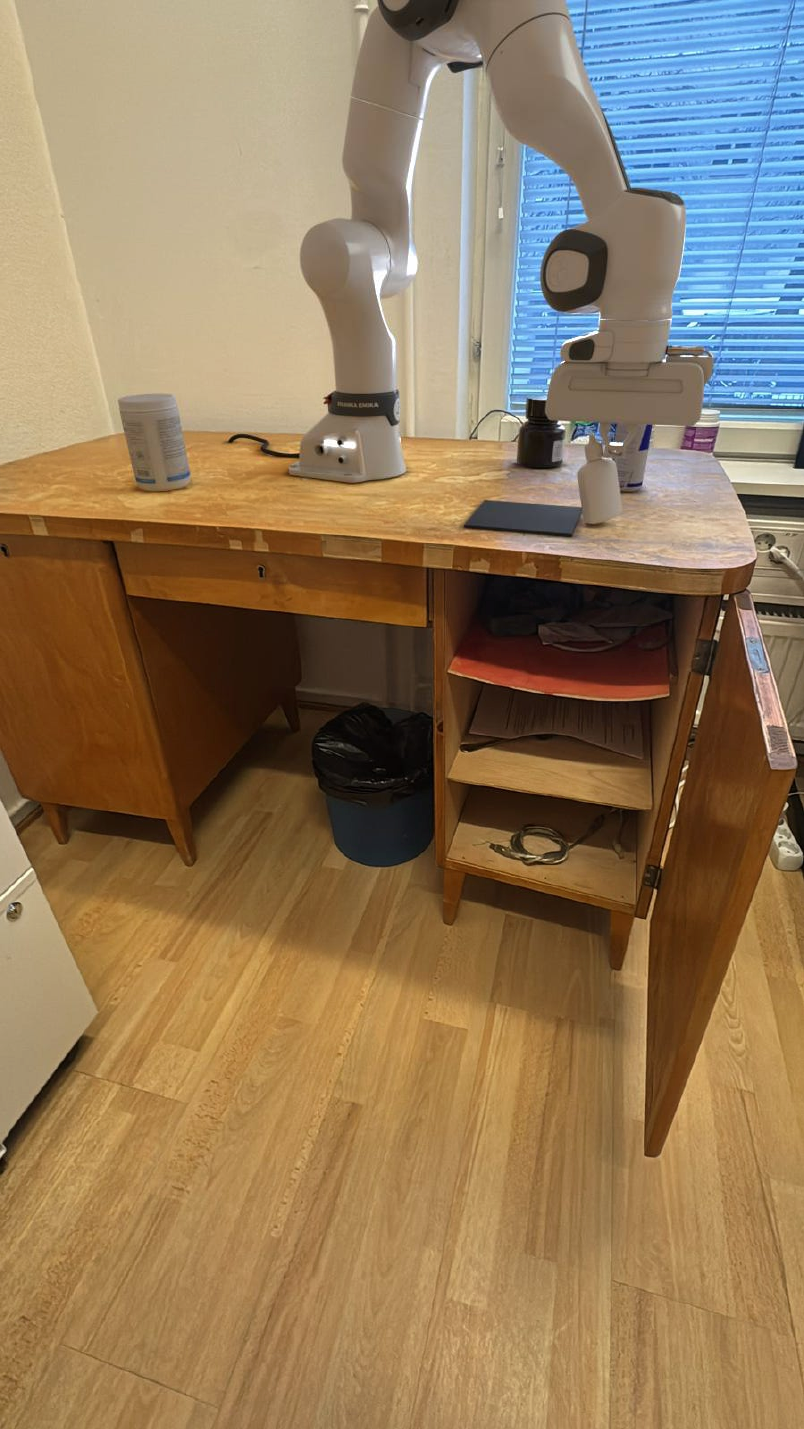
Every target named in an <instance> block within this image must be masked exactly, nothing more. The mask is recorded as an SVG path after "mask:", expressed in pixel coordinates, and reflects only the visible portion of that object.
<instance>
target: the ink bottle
mask: <svg viewBox="0 0 804 1429" xmlns="http://www.w3.org/2000/svg"><path fill="white" fill-rule="evenodd" d="M546 399H547V394H533V395H528V396H527V397H526V401H525V402H526V403H525V419H526V421H525V422H524V423H523V424H521V426H520V427H519V428H518V438H517V448H516V450H517V453H516V464H518V465H520V466H522V467H526V468H532V469H533V468H535V469H547V468H549V469H551V468H556V467H560V466H561V465H562V464H563V458H564V450H565V443H566V442H565V441H566V427H565V426H564V425H562V421H555V420H549V419H548V417H547V415H546V414H545V406H546Z"/></svg>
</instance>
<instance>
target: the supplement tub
mask: <svg viewBox="0 0 804 1429" xmlns="http://www.w3.org/2000/svg"><path fill="white" fill-rule="evenodd" d="M117 403H118V410H119V415H120V419H121V420H120V421H121V425H122V428H123V432H124V436H125V437H124V438H125V441H126V445H127V446H126V447H127V450H128V454H129V458H130V462H131V463H130V464H131V467H132V471H133V476H134V480H135V484H136V486H137V488H139V489H140V490H142V491H147V492H171V491H174V490H179V489H183V488H185V487H187V486H188V485H189V484H190V483H191V481H192V475H191V470H190V464H189V459H188V455H187V449H186V444H185V438H184V433H183V429H182V421H181V418H180V413H179V408H178V404H177V402H176V397H175V395H174V394H171V393H142V394H133V395H126V396H123V397H119V398H118V400H117Z"/></svg>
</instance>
